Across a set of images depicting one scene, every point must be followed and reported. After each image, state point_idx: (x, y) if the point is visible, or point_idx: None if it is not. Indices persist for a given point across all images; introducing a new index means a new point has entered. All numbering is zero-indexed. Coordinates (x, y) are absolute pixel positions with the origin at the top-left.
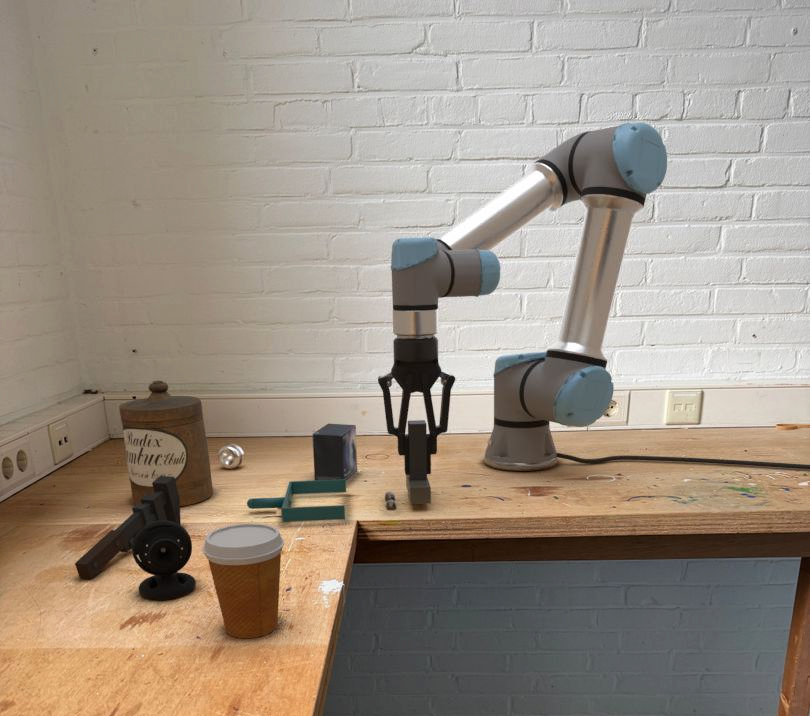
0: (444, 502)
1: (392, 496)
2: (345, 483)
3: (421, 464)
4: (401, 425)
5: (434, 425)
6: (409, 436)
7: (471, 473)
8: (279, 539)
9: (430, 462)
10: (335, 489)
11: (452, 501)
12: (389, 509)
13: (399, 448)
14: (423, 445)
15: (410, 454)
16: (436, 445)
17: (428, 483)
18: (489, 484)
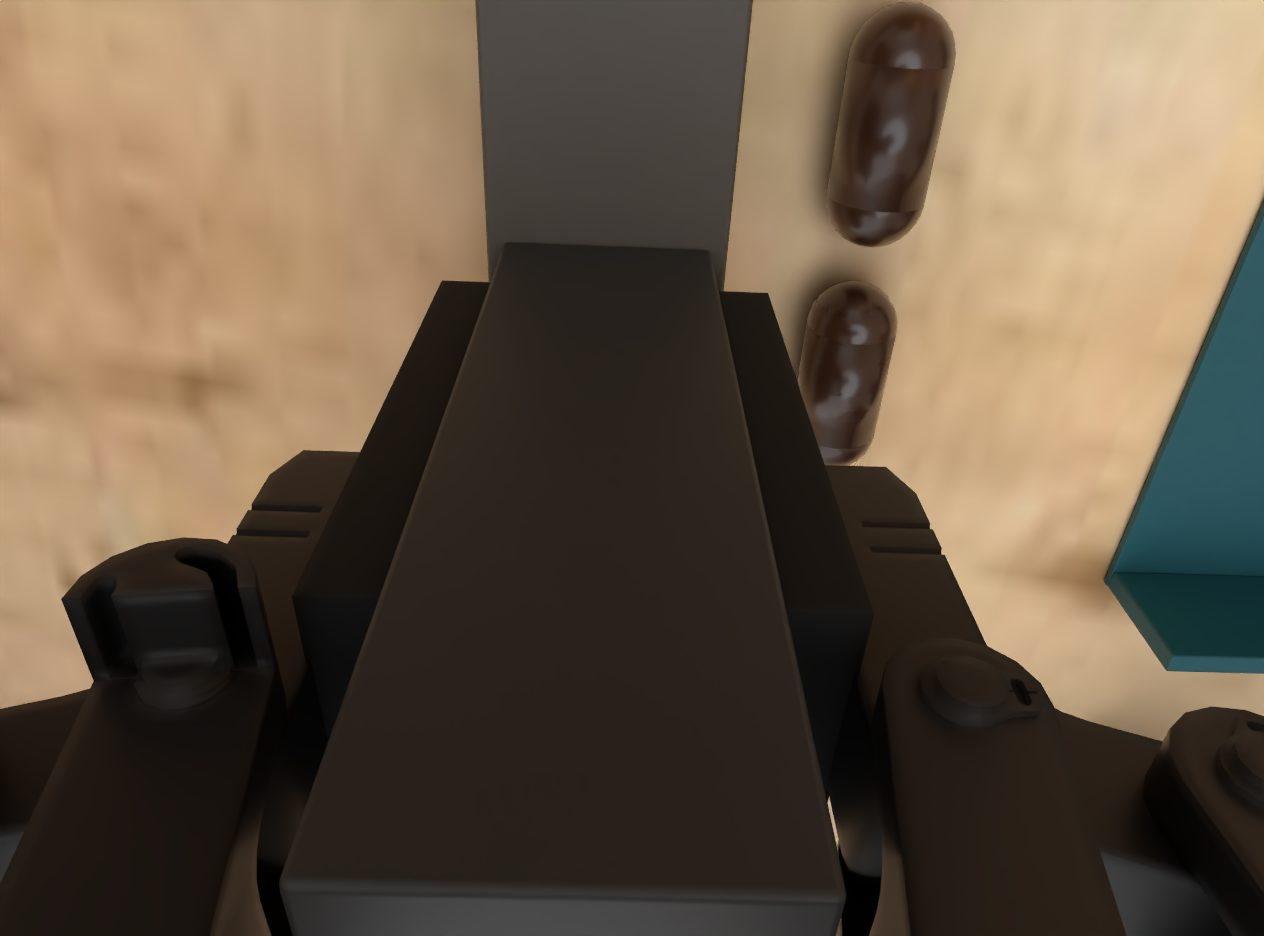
0: (376, 306)
1: (839, 331)
2: (1160, 634)
3: (554, 325)
4: (1047, 903)
5: (58, 847)
6: (783, 619)
7: None
8: None
9: (415, 346)
10: (1215, 605)
11: (307, 322)
12: (933, 9)
13: (913, 536)
14: (481, 482)
15: (727, 407)
16: (241, 539)
17: (492, 75)
18: (52, 659)
